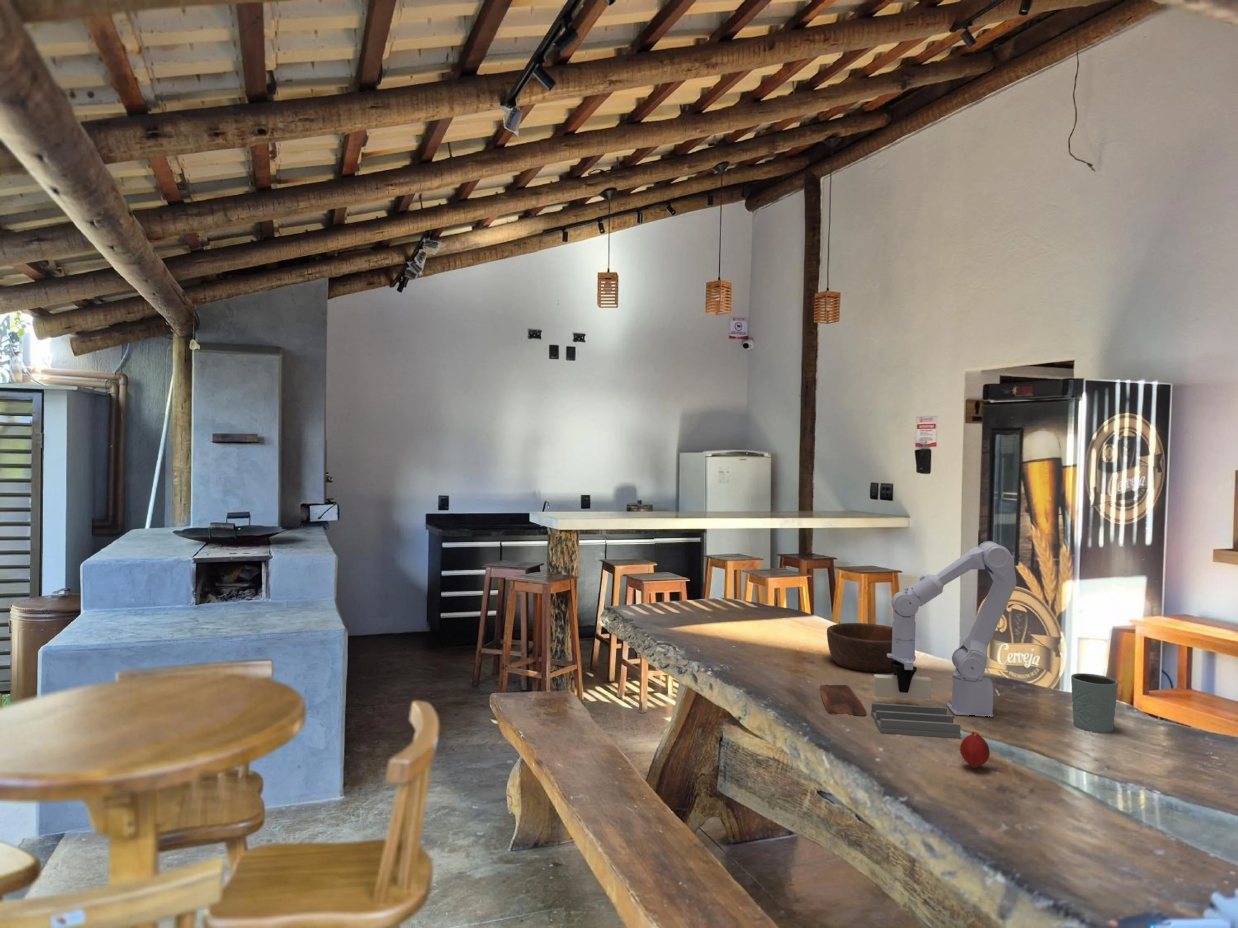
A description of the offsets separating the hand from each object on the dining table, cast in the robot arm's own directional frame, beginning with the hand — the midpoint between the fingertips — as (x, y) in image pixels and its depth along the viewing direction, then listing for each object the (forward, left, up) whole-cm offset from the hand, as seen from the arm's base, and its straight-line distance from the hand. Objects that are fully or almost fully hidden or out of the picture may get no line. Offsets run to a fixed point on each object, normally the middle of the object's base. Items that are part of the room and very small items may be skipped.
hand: (902, 689), depth 218 cm
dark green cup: (-44, +7, -5) cm, 45 cm away
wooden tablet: (+15, -3, -5) cm, 16 cm away
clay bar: (0, 0, -2) cm, 2 cm away
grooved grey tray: (0, +15, -4) cm, 16 cm away
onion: (-7, +40, -5) cm, 41 cm away
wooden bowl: (+2, -41, -5) cm, 41 cm away
